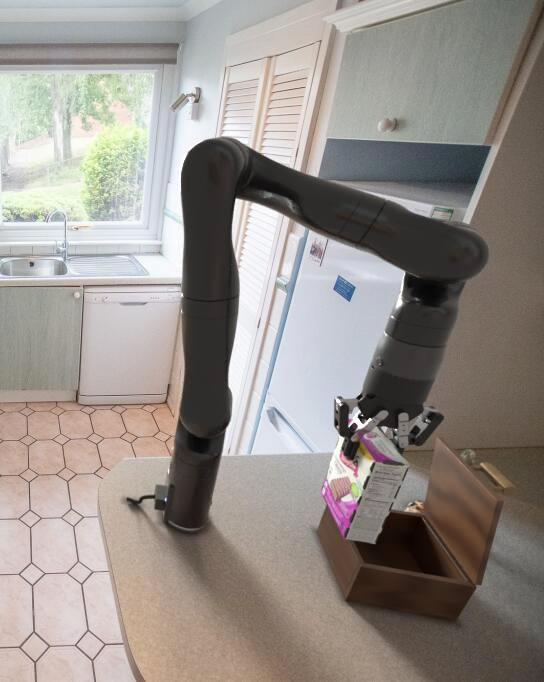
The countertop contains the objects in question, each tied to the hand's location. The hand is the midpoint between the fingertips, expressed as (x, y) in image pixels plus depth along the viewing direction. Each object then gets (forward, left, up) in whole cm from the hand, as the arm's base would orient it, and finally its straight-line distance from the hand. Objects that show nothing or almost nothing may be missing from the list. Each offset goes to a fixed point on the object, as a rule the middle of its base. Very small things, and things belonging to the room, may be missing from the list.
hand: (367, 459), depth 72 cm
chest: (+12, +5, -28) cm, 31 cm away
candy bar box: (0, 0, -13) cm, 13 cm away
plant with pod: (+29, +23, -29) cm, 46 cm away
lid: (+18, +5, -11) cm, 21 cm away
